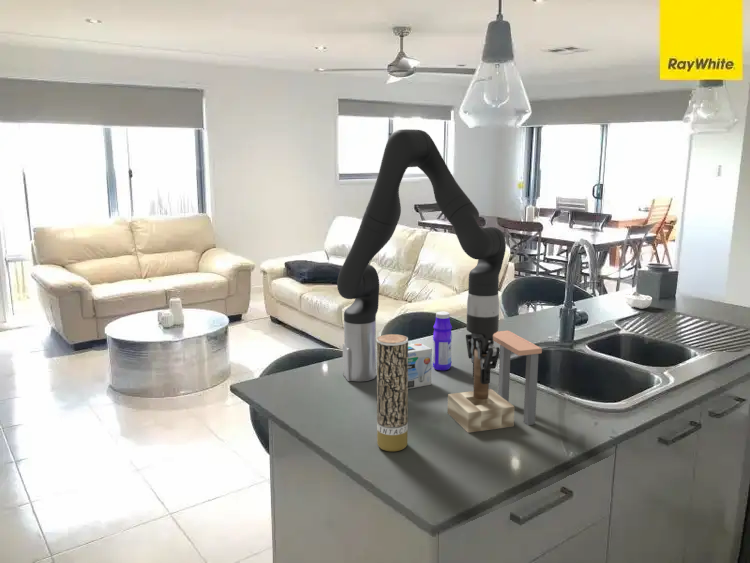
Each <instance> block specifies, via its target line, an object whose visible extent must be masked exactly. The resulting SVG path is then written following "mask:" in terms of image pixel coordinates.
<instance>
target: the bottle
mask: <svg viewBox="0 0 750 563" xmlns="http://www.w3.org/2000/svg"><path fill="white" fill-rule="evenodd" d="M450 315H451V314H450V312H448V311H445V310H443V311H441V310H440V311H437V312H436V313H435V322H434V325H433V329H434V330H433V336H432V340H433V341H432V343H433V344H432V346H433V347H432V368H433V369H434V370H437V371H447V370H450V368H451V366H452V339H453V333H452V329H453V326H452V324H451V321H450V320H451V319H450Z"/></svg>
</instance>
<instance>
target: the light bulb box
mask: <svg viewBox="0 0 750 563" xmlns="http://www.w3.org/2000/svg"><path fill="white" fill-rule="evenodd" d="M432 368H433V348H431V347H429V346H427V345H425V344H423V343H421V342H417V343H410V344H408V390H409V389H414V388H420V387H425V386H430V385H432Z"/></svg>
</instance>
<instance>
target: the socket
mask: <svg viewBox="0 0 750 563" xmlns="http://www.w3.org/2000/svg"><path fill="white" fill-rule="evenodd" d="M473 394H474V390H472V391H471V390H470V391H464V392H454V393H448V394H447V415H449V416H450V417H451V418H452V419H453V420H454V421H455V422H456V423H457V424H459V426H460V427H461V428H463V430H465V431H466V432H467V433H475V432H482V431H489V430H496V429H497V430H498V429H504V428H511V427H514V426H515V406H514V405H513V404H512V403H511V402H508V401H506V400H505V399H504V398H502V397H501V396H500V395H498V393H497V392H496V391H495V390H493V388H489V392H488V398H487V399H483V400H481V399H476V398H474V397H473Z"/></svg>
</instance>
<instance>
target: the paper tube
mask: <svg viewBox="0 0 750 563" xmlns="http://www.w3.org/2000/svg"><path fill="white" fill-rule="evenodd" d="M408 345H409V337H408V336H406V335H403V334H397V333H393V334H392V333H391V334H383V335H379V336H376V430H377V432H376V433H377V434H376V436H377V437H376V438H377V441H376V444H377V446H378V448H379V449H381V450H383V451H386V452H391V453H392V452H399V451H402V450H404V449H405V448H406V447H407V446H408V437H409V436H408V430H409V429H408V428H409V426H408V424H409V423H408V422H409V420H408V419H409V416H408V415H409V414H408V413H409V412H408V410H409V407H408V406H409V389H408Z"/></svg>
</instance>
